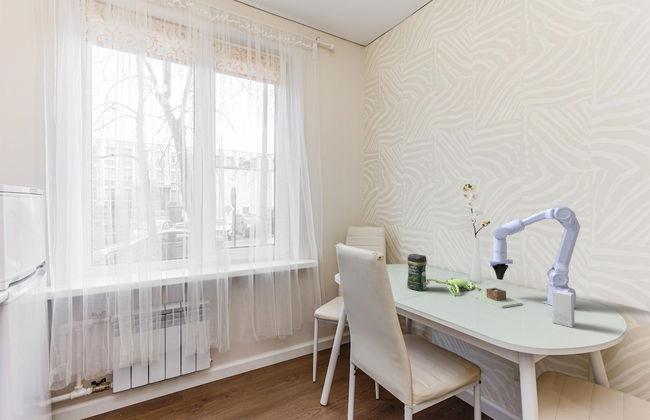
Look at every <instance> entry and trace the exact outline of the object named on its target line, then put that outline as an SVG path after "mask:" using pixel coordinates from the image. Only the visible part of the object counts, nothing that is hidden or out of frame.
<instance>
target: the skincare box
mask: <svg viewBox="0 0 650 420" xmlns="http://www.w3.org/2000/svg"><path fill="white" fill-rule="evenodd" d="M551 309H552V311H551V312H552V313H551V315H552V323H553V324H557V325H560V326H565V327H568V328H569V327H570V328H574V326H575V324H576V323H575V322H576V321H575V308H574V293H570V292H564V291H558V290H554V291H553V292H552V305H551Z"/></svg>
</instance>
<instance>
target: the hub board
mask: <svg viewBox="0 0 650 420" xmlns="http://www.w3.org/2000/svg"><path fill="white" fill-rule="evenodd" d="M494 291H498V290H494ZM472 297H473V298H474V299H477V300H480V301H482V302H484V303H488V304H491V305H492V306H496V307H498V308H501V309H505V308H511V307H517V306H518V307H519V306H523V302H522V301H519V300H516V299H513V298H510V297H507V296H506V300H501V301H495V300H492V299H490V298H487V292H483V293H476V294H472Z"/></svg>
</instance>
